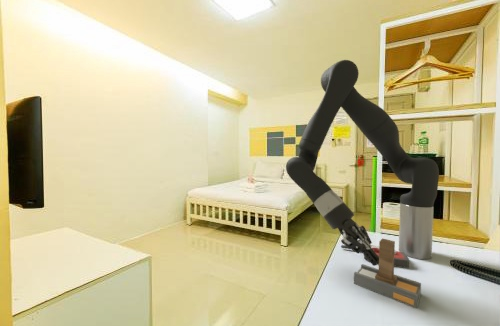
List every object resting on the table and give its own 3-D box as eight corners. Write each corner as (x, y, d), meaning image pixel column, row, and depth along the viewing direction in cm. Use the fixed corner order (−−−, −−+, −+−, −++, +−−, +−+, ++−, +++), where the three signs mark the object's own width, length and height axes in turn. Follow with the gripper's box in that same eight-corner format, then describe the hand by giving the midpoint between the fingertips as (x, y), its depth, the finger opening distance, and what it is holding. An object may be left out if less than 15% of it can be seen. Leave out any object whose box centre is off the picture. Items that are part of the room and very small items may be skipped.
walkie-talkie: (404, 257, 74) (340, 248, 81) (405, 244, 74) (341, 236, 81) (414, 270, 66) (342, 259, 73) (414, 256, 66) (342, 246, 73)
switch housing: (362, 273, 64) (362, 263, 64) (420, 293, 54) (421, 282, 54) (353, 283, 59) (353, 273, 58) (416, 308, 49) (416, 296, 49)
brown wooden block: (379, 273, 59) (380, 237, 59) (396, 279, 56) (398, 241, 56) (375, 279, 56) (376, 241, 56) (393, 286, 54) (394, 246, 53)
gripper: (332, 205, 59) (383, 266, 51) (350, 198, 68) (395, 248, 60) (314, 220, 63) (358, 279, 55) (333, 212, 72) (373, 261, 64)
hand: (377, 263), depth 58 cm, fingers closed
